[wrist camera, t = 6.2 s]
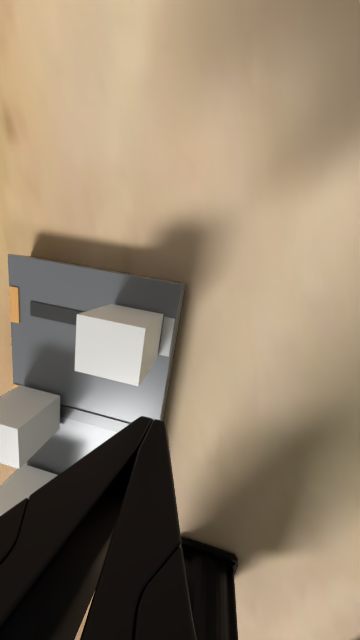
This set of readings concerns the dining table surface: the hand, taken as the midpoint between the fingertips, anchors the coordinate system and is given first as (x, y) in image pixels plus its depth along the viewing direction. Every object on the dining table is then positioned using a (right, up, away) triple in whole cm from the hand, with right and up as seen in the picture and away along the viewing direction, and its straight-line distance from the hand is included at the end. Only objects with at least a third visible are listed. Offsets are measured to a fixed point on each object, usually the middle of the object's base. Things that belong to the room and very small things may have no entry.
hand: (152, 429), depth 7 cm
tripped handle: (-2, +3, +9) cm, 9 cm away
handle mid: (-12, -4, +12) cm, 17 cm away
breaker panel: (-8, -5, +14) cm, 16 cm away
